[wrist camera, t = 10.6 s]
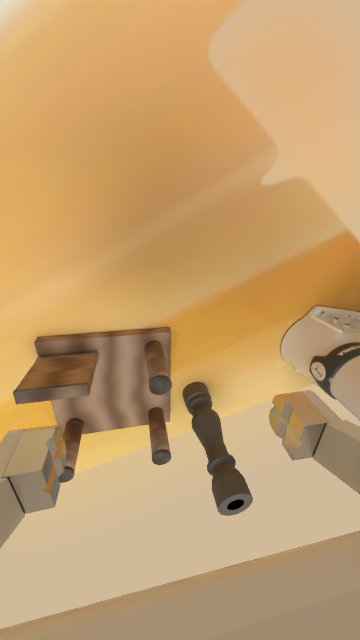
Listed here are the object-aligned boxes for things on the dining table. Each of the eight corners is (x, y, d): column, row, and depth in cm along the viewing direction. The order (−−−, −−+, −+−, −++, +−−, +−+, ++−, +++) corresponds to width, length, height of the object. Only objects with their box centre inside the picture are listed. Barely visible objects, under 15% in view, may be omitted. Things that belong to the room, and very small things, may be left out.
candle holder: (192, 405, 60) (229, 520, 38) (177, 392, 58) (208, 509, 36) (211, 391, 60) (261, 500, 38) (197, 377, 57) (242, 487, 35)
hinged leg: (97, 350, 46) (88, 383, 36) (98, 359, 47) (90, 395, 36) (38, 355, 44) (11, 392, 34) (40, 365, 45) (15, 404, 34)
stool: (168, 327, 49) (182, 366, 38) (168, 414, 60) (179, 466, 48) (37, 337, 45) (5, 384, 33) (63, 429, 56) (45, 491, 44)
